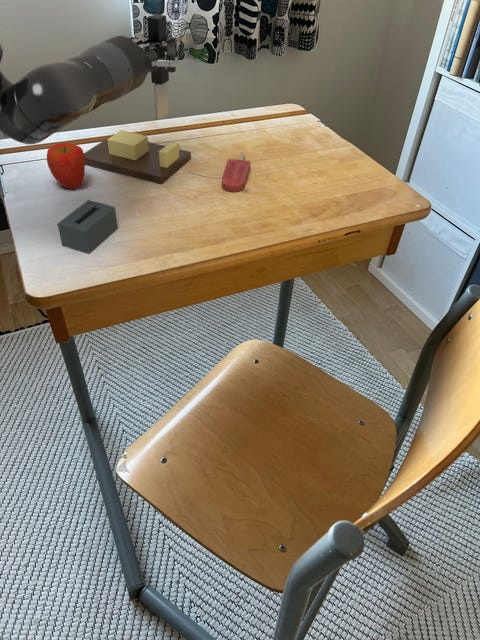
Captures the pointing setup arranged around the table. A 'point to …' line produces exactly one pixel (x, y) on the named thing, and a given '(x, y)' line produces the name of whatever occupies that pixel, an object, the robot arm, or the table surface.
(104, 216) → the knife stand
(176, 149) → the butter slice
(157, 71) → the knife
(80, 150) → the apple
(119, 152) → the butter block
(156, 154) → the butter board
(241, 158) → the popsicle
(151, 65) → the robot arm
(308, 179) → the table surface
